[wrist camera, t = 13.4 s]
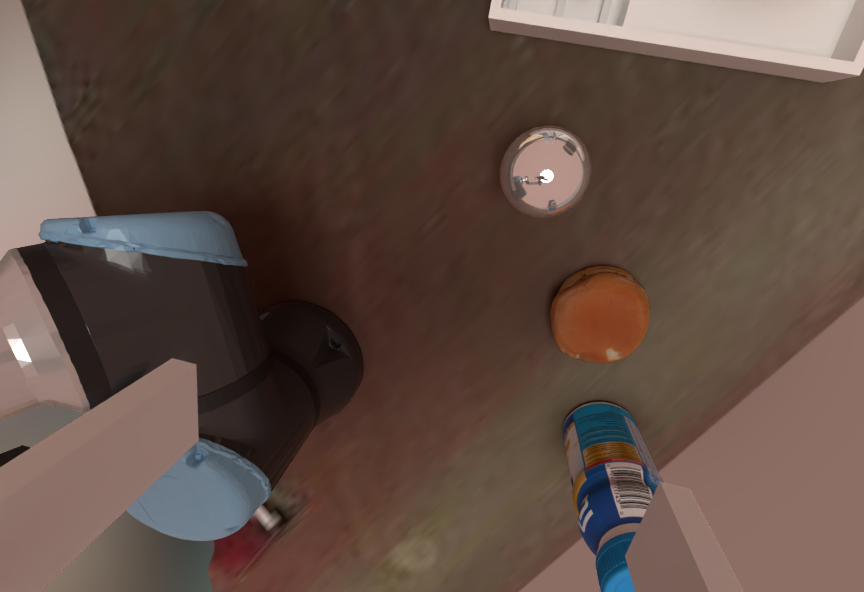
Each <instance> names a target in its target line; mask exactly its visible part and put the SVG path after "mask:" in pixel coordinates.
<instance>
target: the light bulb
mask: <svg viewBox="0 0 864 592" xmlns="http://www.w3.org/2000/svg"><path fill="white" fill-rule="evenodd" d="M591 171H592V166H591V158H590V155H589V152H588V150H587V148H586V146H585V145H584V143H583V142H582V141H581V140H580V139H579V137H578V136H577V135H575V134H574V133H572V132H571V131H569V130H567V129H564V128H562V127H558V126H552V125H549V126H539V127H535V128H532V129H530V130H528V131H526V132H524V133H522V134H521V135H520V136H518V137H517V138H516V139H515V140H514V141H513V142H512V143H511V144H510V146H509V147H508V149H507V150H506V152H505V154H504V156H503V159H502V161H501V166H500V184H501V188H502V191H503V193H504V196H505V197H506V199H507V200H508V202H509V203H510V204H511V205H512V206H513V207H514V208H515V209H517V210H518V211H520V212H521V213H523V214H525V215H528V216H530V217H536V218H549V217H554V216H558V215H560V214H563V213H565V212H566V211H568V210H570V209H571V208H572V207H574V206H575V205H576V204H577V203H578V202H579V201H580V199H581V198H582V197H583V195H584V194H585V192H586V190H587V188H588V186H589V182H590V179H591Z"/></svg>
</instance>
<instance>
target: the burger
mask: <svg viewBox="0 0 864 592" xmlns="http://www.w3.org/2000/svg"><path fill="white" fill-rule="evenodd" d="M647 299H648V295H646V292H645V291H644V289H643V288H642V287H641V286H640V285H638V284H637V282H636V281H635V280H634V279H633V277H632V276H631V275H630V274H629V273H627V272H626V271H624V270H622V269H619V268H616V267H609V266H595V267H589V268H587V269H584V270H581V271H579V272H577V273H575V274H574V275H572V276H570V277H569V278H567V279H566V280H565V281H564V283H563V284H562V286H561V288H560V290H559V292H558V293H557V295H556V297H555V298H554V300H553V302H552V306H551V311H550V317H551V318H550V322H551V327H550V328H551V329H552V332H553V337H554V340H555V343H556V345H557V347H558V348H559V350H560V351H561V352H564V353H565V354H567V355H568V356H569V357H571V358H577V359H580V360H583V361H587V362H593V363H610V362H613V361H616V360H619V359H622V358H625V357H627V356H628V355H629V354H631V353H632V352H633V351H635V350H636V348H637V347H638V345H639V344H640V343H641V341H642V340H643V338H644V336H645V333H646V331H647V328H648V324H649V310H650V306H648V304H649V300H647Z"/></svg>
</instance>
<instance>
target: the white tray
mask: <svg viewBox="0 0 864 592" xmlns="http://www.w3.org/2000/svg"><path fill="white" fill-rule="evenodd" d="M488 19H489V25H490V30H493V31H499V32H505V33H512V34H518V35H524V36H531V37H537V38H543V39H550V40H556V41H562V42H569V43H575V44H581V45H588V46H594V47H600V48H606V49H613V50H619V51H625V52H632V53H638V54H644V55H651V56H657V57H663V58H670V59H676V60H682V61H689V62H695V63H701V64H708V65H714V66H720V67H727V68H733V69H739V70H745V71H752V72H758V73H764V74H771V75H777V76H783V77H790V78H796V79H802V80H809V81H815V82H821V83H824V82H830V81H835V80H840V79H845V78H850V77H855V76H860V74H861V72H862V70H863V67H864V0H492V1H491V6H490V12H489V17H488Z"/></svg>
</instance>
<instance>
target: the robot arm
mask: <svg viewBox="0 0 864 592" xmlns="http://www.w3.org/2000/svg"><path fill="white" fill-rule="evenodd" d="M39 236H40V238H41V239H42V240H45V241H46V242H44V243H42V244H36V245H31V246H26V247H20V248H14V249H11V250H9V251H8V252H7V253H6V254H5V256H4V257H3V258H2V260H1V261H0V421H1V420H4V419H7V418H9V417H12V416H15V415H17V414H20V413H22V412H25V411H28V410H30V409H33V408H36V407H38V406H41V405H54V406H58V407H62V408H66V409H71V410H75V411H79V412H87V413H85V414H84V415H82V416H81V417H79V418H77V419H76V420H74V421H73V422H71V423H69V424H68V425H66V426H65V427H63V428H62V429H60V430H58V431H57V432H56V433H54V434H52V435H51V436H49V437H47V438H46V439H44V440H43V441H41V442H40V443H38V444H36V445H35V446H33V447H32V448H30V447H27V446H23V445H22V446H20V447H17V448H15V449H12V450H9V451H7V452H4V453H2V454H0V592H40V591H41V590H42V589H43V588H44V587H45V586H46V585H47V584H48V583H49V582H51V581H52V580H53V579H54V578H55V577H56V576H57V575H58V574H59V573H60V572H61V571H62V570H63V569H64V568H65V567H66V566H67V565H68V564H69V563H71V562H72V560H74V559H75V558H76V557H77V555H79V554H80V553H81V552H82V551H83V550H84V549H85V548H86V547H87V546H88V545H89V544H90V543H92V542H93V540H95V539H96V538H97V537H98V536H99V535H100V534H101V533H102V532H103V531H104V530H105V529H106V528H107V527H108V526H109V525H110V524H111V523H113V521H114V520H116V519H117V518H118V517H119V516H120V515H121V514H122V513H123V512H124V511H125V510H126V511H127V512H128V513H129V514H130V515H132V516H133V517H135V518H136V519H137V520H139V521H140V522H142V523H144V524H145V525H147V526H150V527H152V528H153V529H155V530H157V531H159V532H162V533H164V534H167V535H170V536H173V537H177V538H180V539H186V540H194V541H209V540H216V539H220V538H224V537H226V536H229V535H231V534H233V533H234V532H236V531H238V530H239V529H240V528H241V527H243V526H244V525H245V524H246V523H247V521H248V520H249V519H250V518H251V516H252V515H253V514H254V512H255V511H256V510H257V509H258V507H259V506H260V505H261V504H263V503H264V502H265V501H266V500H267V499H268V498H269V496H270V494H271V491H272V490H273V488H274V487H275V485H276V484H277V482H278V481H279V479H280V478H281V476H282V475H283V473H284V472H285V470H286V469H287V467H288V466H289V464H290V463H291V461H292V460H293V458H294V457H295V455H296V454H297V452H298V451H299V449H300V448H301V446H302V445H303V443H304V442H305V440H306V439H307V437H308V436H309V434H310V432H311V431H312V429H313V428H314V427H315V426H317V425H318V424H320V423H321V422H323V421H325V420H326V419H328V418H329V417H331V416H333V415H335V414H337V413H338V412H340V411H341V410H342V409H343V408H344V407H345V406H346V405H347V404H348V403H349V402H350V400H351V399H352V397H353V395H354V394H355V392H356V391H357V389H358V387H359V385H360V382H361V379H362V374H363V360H362V354H361V351H360V348H359V345H358V343H357V341H356V339H355V337H354V335H353V334H352V332H351V331H350V330H349V328H348V327H347V326H346V325H345V324H344V323H343V322H342V321H341V320H340V319H339V318H338V317H336V316H335V315H334V314H332V313H331V312H329V311H327V310H326V309H324V308H322V307H319V306H317V305H314V304H310V303H306V302H299V301H289V302H283V303H279V304H276V305H273V306H271V307H269V308H267V309H266V310H264V311H263V312H262V313H260V314H259V313H258V309H257V305H256V302H255V298H254V294H253V291H252V287H251V283H250V279H249V276H248V272H247V268H246V266H248V265H247V262H246V260H244V259H243V257H242V254H241V251H240V248H239V246H238V243H237V240H236V237H235V234H234V231H233V228H232V226H231V225H230V223H229V222H228V221H227V220H226V219H225V218H224V217H222V216H221V215H219V214H217V213H214V212H210V211H189V212H169V213H150V214H133V215H115V216H100V217H82V218H60V219H47V220H45V221H44V222H43V223H42V224H41V230H40V232H39ZM625 558H626V562H627V565H628V569H629V572H630V576H631V579H632V583H633V587H634V590H635V592H744V591H743V589H742V587H741V585H740V583H739V582H738V579H737V577H736V576H735V574H734V572H733V570H732V568H731V566H730V564H729V562H728V561H727V559H726V557H725V555H724V553H723V551H722V549H721V547H720V545H719V543H718V541H717V540H716V537H715V536H714V534H713V532H712V530H711V528H710V526H709V524H708V522H707V521H706V518H705V517H704V515H703V513H702V511H701V509H700V507H699V505H698V503H697V502H696V499H695V498H694V496H693V494H692V492H691V490H690V489H688V488H684V487H680V486H676V485H672V484H668V483H664V482H659V484H658V486H657V488H656V490H655V493H654V495H653V497H652V499H651V501H650V503H649V506H648V508H647V510H646V512H645V514H644V516H643V518H642V521H641V523H640V525H639V527H638V529H637V531H636V533H635V536H634V538H633V540H632V542H631V544H630V546H629V549H628V551H627V553H626V555H625Z"/></svg>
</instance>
